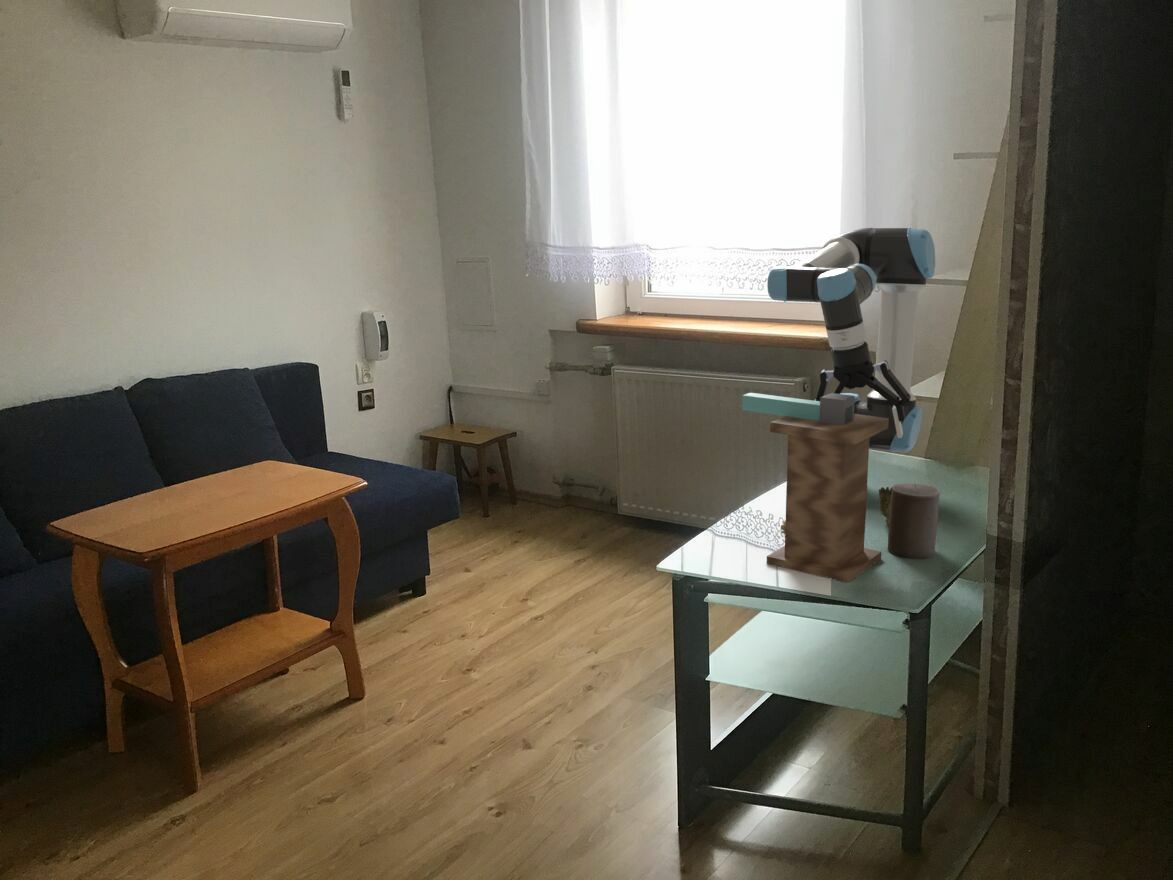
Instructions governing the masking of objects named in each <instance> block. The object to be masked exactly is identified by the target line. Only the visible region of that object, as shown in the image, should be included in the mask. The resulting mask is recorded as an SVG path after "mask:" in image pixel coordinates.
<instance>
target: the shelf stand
mask: <svg viewBox="0 0 1173 880" xmlns="http://www.w3.org/2000/svg"><path fill="white" fill-rule="evenodd" d="M888 423H889V418H882V417H875V416H867V415H859V414H854V420H853V421H851V422H849V423H847V424H845V425H837V424H830V423H823V422H819V421H817V420H809V419H802V418H795V417H788V416H782V417H780V418H777V419H776V420H772V421H770V422H769V424H770V425H769V432H770V433H773V434H774V433H775V434H781V435H787V461H786V462H787V465H786V489H785V490H786V491H785V492H786V495H785V498H786V499H785V520H786V523H785V532H784V545H783V546H781V547H780V548H777V550H775V551H774V552H771V553H769V554H768V555H766V564H767V565H771V566H775V567H780V568H784V569H788V570H793V571H796V572H801V573H805V574H810V575H814V576H819V577H822V578H826V577H827V579H830V578H832V579H831V580H834V579H836V580H835V581H840V582H843V581H844V583H847V582H849V583H850V582H851V581H853V580H854V579H855V577H856V578H857V577H858V576H860V575H861V574H862V573H864V572H865V571H867V570H868V569H869V568H870V566H871V565H872V566H873V565H874V563H875V562H876V563H878V562H879V561H881V559H882V551H880V550H876V549H870V548H867V547H865V535H866V533H865V532H866V518H867V517H866V515H867V513H866V512H867V495H868V494H867V492H868V475H869V456H870V455H869V454H870V453H869V452H870V449H869V438H870V437H871V436H873V435H875V434H877V433H879V432H881V431H883V430H885V429H887V428H888ZM877 561H878V562H877ZM876 563H875V564H876ZM872 566H871V567H872ZM866 569H867V570H866ZM863 571H864V572H863Z"/></svg>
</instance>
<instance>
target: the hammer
mask: <svg viewBox="0 0 1173 880" xmlns="http://www.w3.org/2000/svg"><path fill="white" fill-rule="evenodd" d="M741 401H742V407H741V408H742V409H741V410H742V411H747V412H753V413H759V414H760V413H761V414H767V415H774V416H775V415H776V416H780V417H781V416H782V417H785V416H788V417H795V418H802V419H809V420H817V421H819V422H823V423H830V424H837V425H845V424H847V423H849V422H851V421H853V420H854V401H855V396H852V395H843V394H835V393H834V392H831V393H827V394H826V395H825V394H824V396H823V397H820V401H814V400H811V399H804V398H803V399H802V398H795V397H789V396H779V395H771V394H763V393H756V392H748V393H745V394H742V400H741Z"/></svg>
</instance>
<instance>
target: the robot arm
mask: <svg viewBox="0 0 1173 880" xmlns="http://www.w3.org/2000/svg"><path fill="white" fill-rule="evenodd" d="M935 268H936V250H935V243H934V239H933V237H932V235H931V233H930V231H928V230H927V229H925V228H924V229H923V228H914V227H904V228H903V227H893V228H891V227H881V228H879V227H878V228H877V227H865V228H864V227H863V228H859V229H853V230H852V231H848V232H845V233H842V234H839V235H838V236H835V237H833V238H831V239H830V240H828V241H827V242H825V244H824V245H823V246H822V248H821V249H820V250H819V251H816V253H814V254H812V255H810V256H808V257H807V258H805V259H803V260H802V261H800V262H797V264H795V265H791V266H789V265H787V266H786V265H782V266H781V265H780V266H773V267H772V268H771V269H770V271H769V273H768V277H767V283H766V284H767V293H768V296H769V298H770V299H772V300H773V301H778V302H779V301H780V302H785V303H786V302H795V303H797V302H799V303H818V304H819V303H820V305H821V311H822V315H823V320H824V324H825V330H826V336H827V340H828V345H829V347H830V348H831V349H830V354H831V359H832V363H833V370H827V369H825V368H823V369H822V370H821V372H820V374H819V380H820V381H819V382H820V384H819V388H818V390H817V395H816V396H815V397H816V398H815V399H814V400H813V401H820V397H823V396H825V394H826V390H827V387H828V383H829V382H830V381H831V379H832V378H834V379H836V381H838V382H839V384H838V385H837V387H836V388H835V390H834V391H833V393H835V394H843V395H852V396H855V401H854V414H859V415H867V416H875V417H882V418H889V423H888V428H887V429H885V430H883V431H881V432H879V433H877V434H875V435H873V436H871V437H870V438H869V450H879V451H888V452H890V453H893V452H894V453H897V452H899V453H907V452H909V451H910V450H912V448H913V447H914V446H915V444H916V442H917V439H918V437H919V434H920V430H921V426H922V421H923V409H922V407H921V406H919V405H917V403H916V402H917V398H916V396H915V395H914V394H913V393H912V390H911V386H912V385H911V384H912V375H913V374H912V373H913V362H914V350H915V349H914V348H915V341H916V340H915V339H916V338H915V337H916V328H917V327H916V326H917V325H916V324H917V314H918V301H919V293H920V292H921V291H922V290H923V289H924V288H925V287H926V286H927V285H926V283H927V280H930V279H931V278H933V277H934V274H935ZM876 286H877V287H878V288H879V290H880V291H881V295H880V296H881V298H880V309H879V310H880V311H879V319H878V320H879V323H878V324H879V325H878V336H877V348H876V360H875V361H876V362H875V364H874V363H873V362H872V359H871V355H870V349H869V344H868V342H867V341H866V340H867V335H866V330H865V324H864V323H865V322H864V318H863V315H862V309H861V308H862V307H861V304H862V303H864V302H865V301H866V300H867V299H869V297H871V296H872V293H873V292H874V290H875V288H876ZM874 372H875V375H873V374H874ZM865 386H868V387H869V388H870V389H872V390H871V391H870V392H869V393H868V394H867V395H866V401H862V400H861V398H860V395H859V394H857V393H852V392H843V390H844V388H847V389H848V390H853V389H855V388H859V389H861V388H864V387H865ZM842 392H843V393H842Z"/></svg>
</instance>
